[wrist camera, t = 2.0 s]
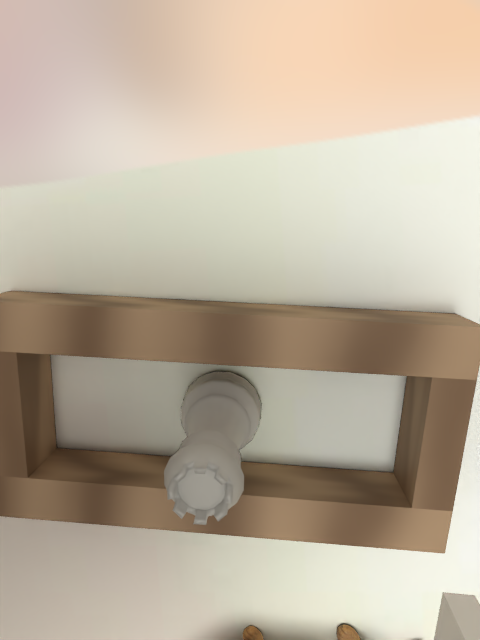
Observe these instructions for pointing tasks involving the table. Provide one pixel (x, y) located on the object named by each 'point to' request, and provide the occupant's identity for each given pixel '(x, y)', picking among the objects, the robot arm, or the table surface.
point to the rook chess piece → (212, 446)
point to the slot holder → (259, 478)
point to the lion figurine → (345, 633)
